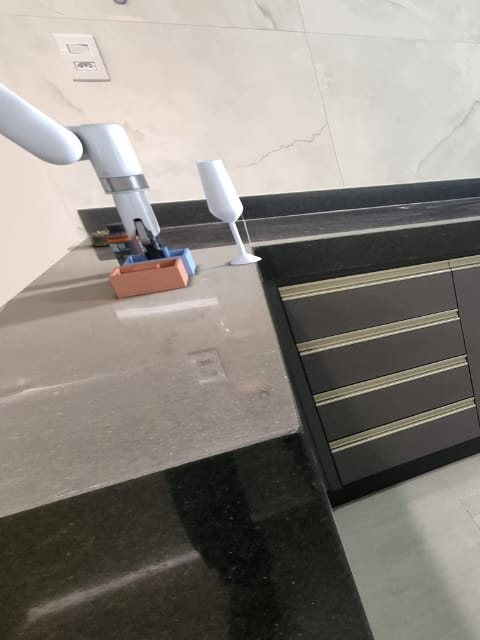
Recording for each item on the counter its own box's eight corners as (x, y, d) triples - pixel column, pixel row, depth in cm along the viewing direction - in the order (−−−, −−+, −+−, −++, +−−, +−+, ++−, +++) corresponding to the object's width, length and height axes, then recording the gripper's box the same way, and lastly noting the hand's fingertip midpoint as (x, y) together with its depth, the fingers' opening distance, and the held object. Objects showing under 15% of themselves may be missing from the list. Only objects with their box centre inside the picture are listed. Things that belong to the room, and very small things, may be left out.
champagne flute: (258, 256, 138) (222, 158, 128) (264, 260, 134) (228, 159, 123) (227, 261, 134) (188, 161, 124) (232, 266, 130) (192, 162, 119)
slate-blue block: (150, 270, 121) (142, 252, 120) (152, 266, 124) (144, 249, 123) (172, 266, 123) (165, 249, 122) (173, 263, 126) (166, 246, 125)
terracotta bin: (118, 298, 109) (107, 276, 107) (125, 287, 116) (115, 266, 114) (186, 286, 115) (177, 266, 113) (188, 276, 122) (180, 257, 120)
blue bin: (131, 284, 118) (122, 264, 116) (137, 275, 125) (128, 256, 123) (194, 274, 124) (185, 255, 122) (195, 266, 131) (188, 247, 129)
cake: (101, 249, 157) (90, 232, 154) (90, 247, 162) (79, 229, 159) (141, 239, 164) (131, 222, 161) (129, 237, 169) (119, 220, 166)
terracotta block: (141, 288, 113) (132, 270, 111) (143, 284, 116) (135, 266, 114) (165, 284, 115) (157, 266, 113) (166, 280, 118) (158, 263, 116)
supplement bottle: (149, 264, 134) (129, 219, 130) (157, 267, 131) (136, 221, 126) (119, 270, 130) (97, 224, 125) (126, 274, 127) (104, 226, 122)
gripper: (108, 183, 120) (145, 262, 128) (95, 190, 108) (137, 277, 116) (151, 180, 124) (183, 256, 132) (143, 186, 111) (180, 270, 119)
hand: (161, 265), depth 124 cm, fingers closed on slate-blue block, 4 cm apart
